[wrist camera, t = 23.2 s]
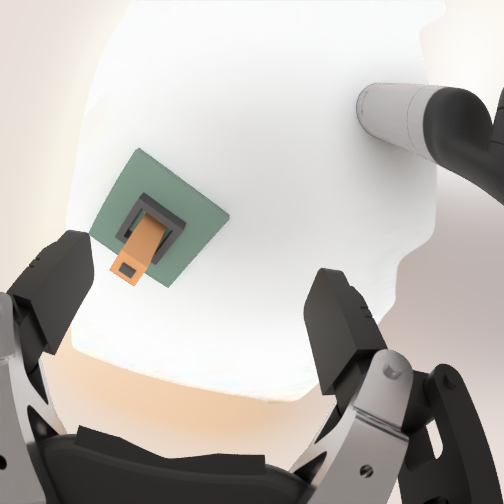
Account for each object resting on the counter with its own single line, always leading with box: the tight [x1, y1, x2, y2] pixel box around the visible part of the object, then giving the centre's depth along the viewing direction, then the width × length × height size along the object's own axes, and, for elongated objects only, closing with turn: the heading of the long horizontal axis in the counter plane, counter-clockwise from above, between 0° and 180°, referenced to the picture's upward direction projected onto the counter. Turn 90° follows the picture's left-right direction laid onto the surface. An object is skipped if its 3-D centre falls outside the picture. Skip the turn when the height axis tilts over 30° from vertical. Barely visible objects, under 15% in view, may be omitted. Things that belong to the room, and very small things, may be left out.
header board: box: [88, 148, 229, 288], centre depth 42 cm, size 18×18×4 cm
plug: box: [110, 212, 166, 286], centre depth 37 cm, size 4×4×13 cm
